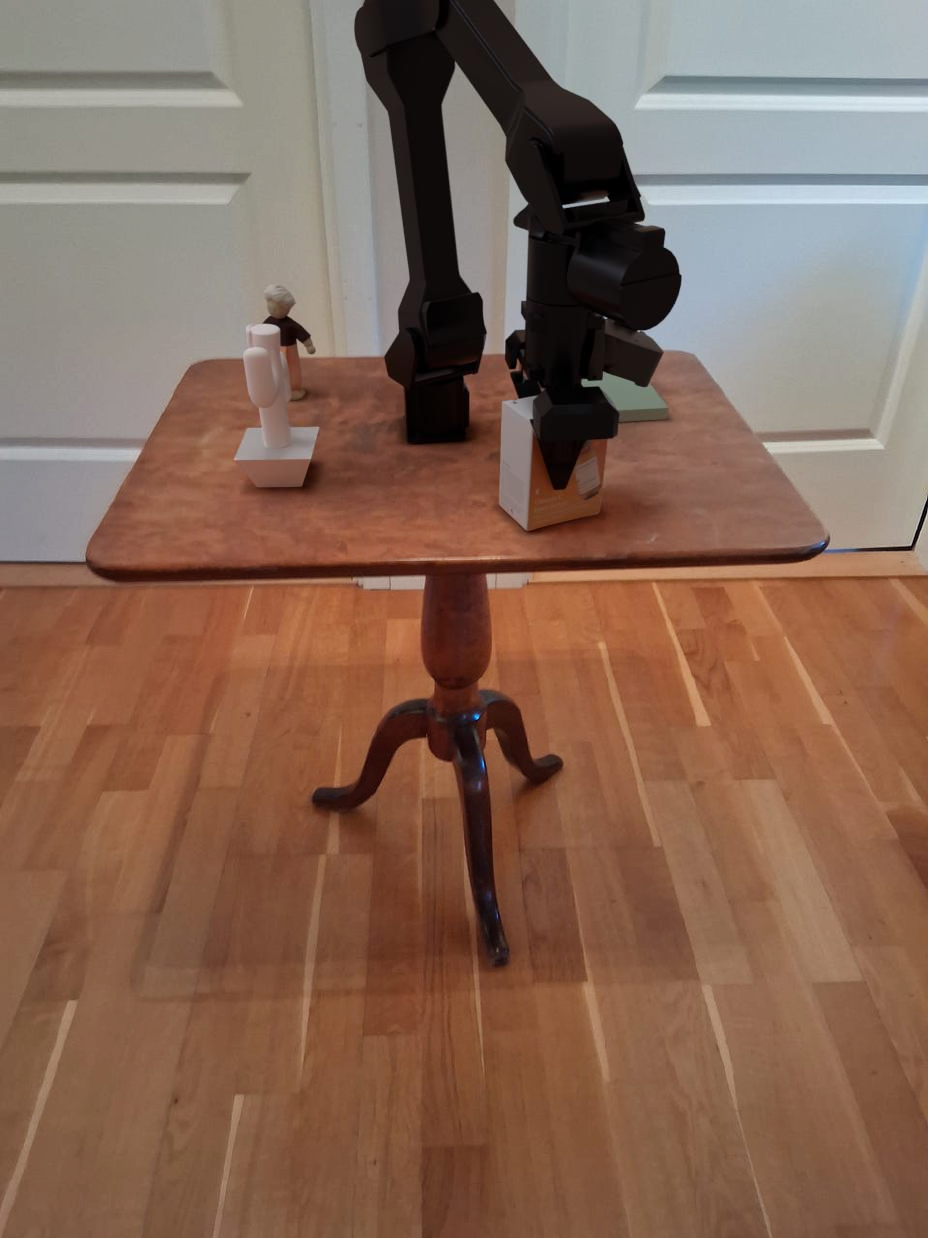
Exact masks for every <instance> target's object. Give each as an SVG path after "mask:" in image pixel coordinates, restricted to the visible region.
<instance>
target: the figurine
mask: <svg viewBox="0 0 928 1238" xmlns="http://www.w3.org/2000/svg"><path fill="white" fill-rule="evenodd" d="M245 334H246V342H247V348H246V349H245V350H244V352H243V356H242V358H243V359H242V361H243V365H244V372H245V380H246V386H247V391H248V396H249V398H250V400H251V403H252V404H253V405H254V406H255V407H257V408H258V412H259V413H258V414H259V418H260V426H261V427H246V430H245V432H244V435H243V436H242V439H241V442H240V444H239V447H238V449H237V452H236V454H235V456H234V458H233V461H234V462H235V464H236V465H237V466H238V467H239V468H240V470H242V471H243V473H244V474H245V475H246V477H248V478H249V480H250V481H251V482H252V483H253V484H254V486H255V487H256V488H302V487H303V485H304V481H305V478H306V475H307V472H308V469H309V466H310V463H311V459H312V456H313V453H314V449H315V445H316V441H317V437H318V434H319V430H320V426H291V425H290V419H289V409H288V404H287V403H288V402H290V401H292V400H291V386H290V378H289V369H288V364H287V360H286V357H285V356H284V354H283V353H282V352H281V351H280V328H279V327H277V326H275V325H272V324H262V323H260V324H255V323H250V324H248V325H247V326H246V327H245Z"/></svg>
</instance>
